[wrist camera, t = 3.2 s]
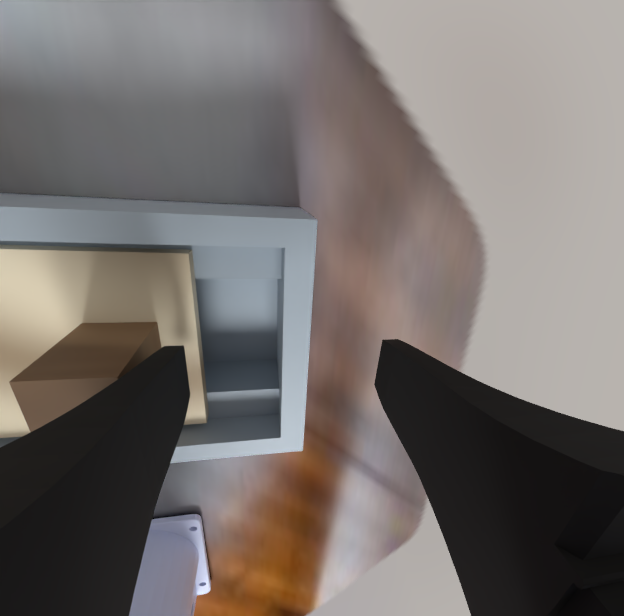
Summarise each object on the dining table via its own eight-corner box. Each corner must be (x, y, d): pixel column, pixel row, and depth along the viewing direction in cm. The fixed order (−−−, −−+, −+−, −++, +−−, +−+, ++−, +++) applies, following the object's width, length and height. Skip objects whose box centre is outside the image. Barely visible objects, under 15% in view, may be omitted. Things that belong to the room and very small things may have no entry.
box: (292, 387, 17) (302, 450, 13) (-81, 408, 14) (-218, 500, 10) (300, 207, 13) (317, 219, 9) (-222, 181, 10) (-543, 183, 6)
